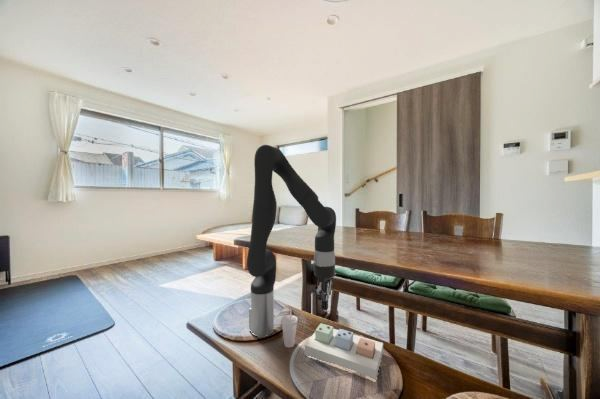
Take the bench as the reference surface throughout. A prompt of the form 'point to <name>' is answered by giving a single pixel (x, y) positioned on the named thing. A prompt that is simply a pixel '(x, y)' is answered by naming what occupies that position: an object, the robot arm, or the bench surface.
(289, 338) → the smoothie
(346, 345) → the tile three
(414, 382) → the bench surface
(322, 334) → the tile two
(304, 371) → the bench surface
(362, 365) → the board
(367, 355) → the tile one
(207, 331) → the bench surface
